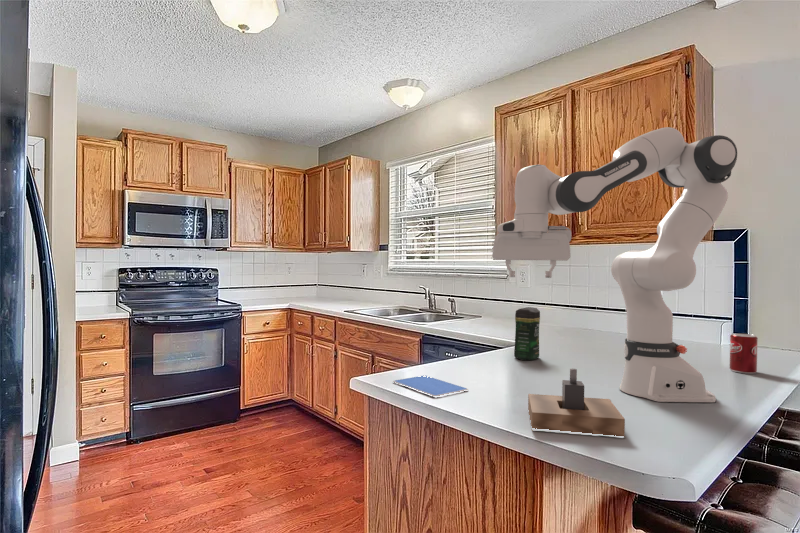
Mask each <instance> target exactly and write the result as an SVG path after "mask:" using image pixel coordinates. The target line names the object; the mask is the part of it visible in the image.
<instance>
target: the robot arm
mask: <svg viewBox="0 0 800 533" xmlns="http://www.w3.org/2000/svg"><path fill="white" fill-rule="evenodd" d="M737 159H738V147H737V145H736V143H735V142H734V141H733V139H731V138H730V137H728V136H725V135H709V136H706V137H704V138H702V139H699V140H696V141H694V142H691V143H689V142H687V141H685V138H684V136H683V133H681V131H679V130H678V129H676V128H675V127H670V126H669V127H668V126H666V127H661V128H658V129H654V130H651V131H648V132H646V133H643V134H641V135H638V136H636V137H634V138H632V139H630V140H628V141H626V142H625V143H624V144H623V145H621V146H619V148H617V149H616V150H615V151H614V152H613V155H612V159H611V161H610V162H608V163H606V164H604V165H602V166H600V167H599V168H596V169H594V170H581V171H580V170H579V171H575V172H572V173H570V174H568V175H566V176H561V175H558V174H556V173H555V172H553V171H552V170H550V169H549V168H548V167H547V166H546V165H545V164H534V165H529V166H526V167H523V168H521V169H520V170H518V172H517V174H516V178H515V184H514V198H513V199H514V202H515V211H514V214H513V216H514V217H513V219H512V220H509V221H506V222H503V223H500V224H498V226H497V232H498V233H497V234H496V236H495V237H494V240H493V246H492V254H491V256H492V259H493V260H494V261H505V266H506V268H507V269H508V271H509V275H508V276H509V278H516V270H512V269H511V266H510V265H511V264H512V262H511V261H549V265H551V266H550V267H549V269H548V270H545V279H552V276H553V275H552V272H553V270H554V269H555V268H556V266H557V262H558V261H559V262H560V261H561V262H562V261H564V262H566V261H569V260H570V258H571V246H570V242H571V240H572V230H571V229H570V228H568V227H566V226H564V225H558V226H557V225H556V226H555V225H549V214H553V215H557V216H562V215H569V214H572V213H573V214H574V213H584V212H587V211H589V210H591V209H593V208H594V207H595V206H596V205H597V204H598V203H599V202H600V200H601V199H602V198H603V196H604V195H605V194H607V193H608V192H609V191H611V190H613V189H614V188H617V187H618V186H620V185H622V184H624V183H626V182H627V183H631V182H635V181H638V180H641V179H644V178H646V177H649V176H651V175H653V174H655V173H657V172H658V176H659V177H660V180H662V182H663V183H664V184H665V185H666V186H668V187H671V188H678V189H679V188H680V189H681V188H683V190H682V193H681V194H680V197H679V198H678V199H677V201H675V202H674V203H673V205H672V206H671V208H670V209H669V210H668V211H667V213H666V214H665V215H664V216H663V218H662V219H661V220H660V221H659V223H658V224H657V227H656V234H657V235H658V238H657V240H656V242H655V244H653V246H651V247H649V249H631V250H628V251H624V252H622V253H619V254H618V255H617V256H615V258H614V259H613V260H612V263H611V267H610V268H611V270H610V271H611V275H612V277H613V279H614V280H615V281H616V282H617V284H618V286H619V287H620V290H621V293H622V297H623V301H624V304H625V310H626V311H625V312H626V338H625V339H624V345H623V348H624V349H623V350H624V351H623V353H624V354H623V356H624V359H625V360H624V361H625V362H624V367H623V368H624V369H623V372H622V373H623V374H622V378H621V382H620V385H619V391H622V392H623V393H626V394H629V395H632V396H636V397H640V398H645V399H647V400H650V401H655V402H658V403H660V402H661V403H662V402H663V403H715V402H716V401H717V399H716V396H715V394H714V393H712V391H709V390H708V389H707V388H706V382H705V379H704V376H703V375H702V373H701V372H700V371H699V370H698V369H697V368H695V367H694V366H692V364H690V363H689V362H687V360H685V359H684V358H682V357H681V356H680V355H681V354H683V355H685V354H686V353H687V352H688V348H687V347H686V346H684V345H682V344H678V343H676V342H674V341H673V326H674V324H673V323H674V322H673V318H674V315H673V312H672V310H671V309H670V308H669V307H668V306H667V304H666V303H665V300H664V298H663V295H662V292H672V291H678V290H682V289H683V290H684V289H685V288H688V287H689V286H690V285H691V284H692V283H693V282H694V280H695V278H696V276H697V265H696V262H695V260H694V259H693V258H694V255H695V252H696V249H697V247H698V246H699V244H700V243H701V241H702V240H703V239H704V238H705V236H706V235H707V234H708V233H709V231H710V230H711V228H712V227H713V225H714V224H715V223H716V222H717V220H718V218H719V217H720V215H721V213H722V211H723V210H724V208H725V206H726V204H727V201H728V198H729V194H728V191H727V189H726V188H725V186H724V185H723V184H722V183H723V182H725V181H727V180H728V179H729V178H730V177H731V175H732V170H733V168H734V167H735V165H736V163H737Z"/></svg>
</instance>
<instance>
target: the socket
mask: <svg viewBox="0 0 800 533" xmlns="http://www.w3.org/2000/svg"><path fill="white" fill-rule="evenodd" d="M527 398H528V399H527V401H528V403H527V406H528V408H527V409H528V410H529V412H528V416H529V415H530V418H529V421H530V420H531V423H530V427H531V426H532V428H535V429H536V428H537V429H549V430H560V431H571V432H582V433H592V434H603V435H614V436H615V435H616V436H624V437H625V431H626V428H625V427H626V426H625V425H626V423H625V422H626V419H625V417H624V416H623V415H622V414H621V412H620V411H619V410H618V408H617V407H616V406H615V405H614V403H613V402H612V400H611V399H610V398H598V397H585V396H584V410H573V409H562V395H553V394H551V395H550V394H536V393H528V397H527ZM528 410H527V411H528Z"/></svg>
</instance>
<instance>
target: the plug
mask: <svg viewBox="0 0 800 533" xmlns="http://www.w3.org/2000/svg"><path fill="white" fill-rule="evenodd" d="M577 373H578V369H577V368H569V380H565V379H562V381H561V382H562V386H561V388H562V390H561V393H562V395H561V396H562V409H573V410H584V397H585V385H584V383H583V381H581V380H577V377H578V376H577V375H578V374H577Z"/></svg>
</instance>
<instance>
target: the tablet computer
mask: <svg viewBox="0 0 800 533" xmlns="http://www.w3.org/2000/svg"><path fill="white" fill-rule="evenodd" d="M420 376H421V377H418V376H414V377H413V376H412V377H407V378H401V379H396V380H393V381H392V383H393V382H396V383H398V384H402V385H405V386H408V387H411V388H414V389H416V390H418V391H422V392H424V393H427V394H430V395H432V396H440V395H444V394H449V393H454V392H460V391H464V390H468V391H469V388H467V387H463V386H461V385H457V384H454V383H451V382H448V381H444V380H441V379H439V378H438V379H437V378H435V377H432V378H430V377H431V376H429V377H428V378H427V376H428V375H425V376H426V377H423V376H424V375H420Z"/></svg>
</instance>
